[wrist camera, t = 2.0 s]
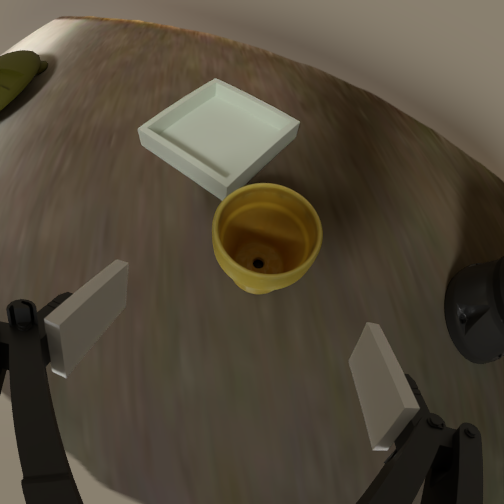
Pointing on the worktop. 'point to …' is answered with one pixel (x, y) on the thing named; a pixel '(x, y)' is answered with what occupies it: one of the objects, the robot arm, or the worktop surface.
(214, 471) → the worktop surface
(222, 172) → the tray
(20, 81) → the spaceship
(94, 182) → the worktop surface
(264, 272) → the plant pot
